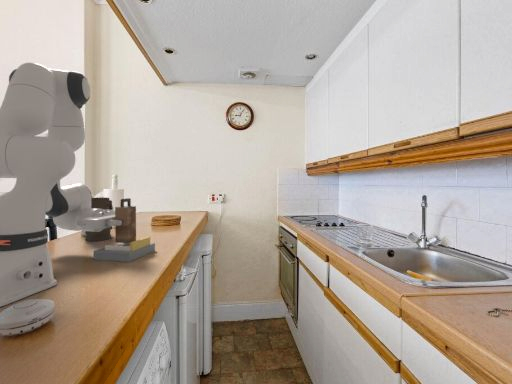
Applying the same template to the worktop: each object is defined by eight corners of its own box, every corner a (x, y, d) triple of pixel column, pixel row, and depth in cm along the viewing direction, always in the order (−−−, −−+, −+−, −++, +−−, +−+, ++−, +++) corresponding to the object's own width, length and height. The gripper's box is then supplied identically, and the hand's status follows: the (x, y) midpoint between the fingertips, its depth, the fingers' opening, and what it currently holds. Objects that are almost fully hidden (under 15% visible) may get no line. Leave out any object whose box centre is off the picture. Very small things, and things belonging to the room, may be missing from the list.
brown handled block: (127, 243, 103) (127, 199, 102) (115, 242, 104) (115, 198, 103) (136, 240, 108) (135, 198, 107) (124, 239, 109) (124, 198, 108)
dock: (93, 259, 99) (93, 242, 99) (123, 248, 115) (123, 234, 115) (129, 261, 97) (129, 244, 96) (154, 250, 112) (154, 235, 112)
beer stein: (102, 241, 128) (103, 197, 129) (78, 241, 128) (80, 197, 129) (119, 237, 143) (120, 197, 144) (98, 237, 144) (99, 197, 144)
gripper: (72, 215, 98) (108, 216, 95) (113, 209, 118) (143, 210, 115) (73, 233, 98) (108, 235, 95) (113, 224, 118) (143, 225, 115)
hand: (128, 221), depth 105 cm, fingers closed on brown handled block, 5 cm apart
